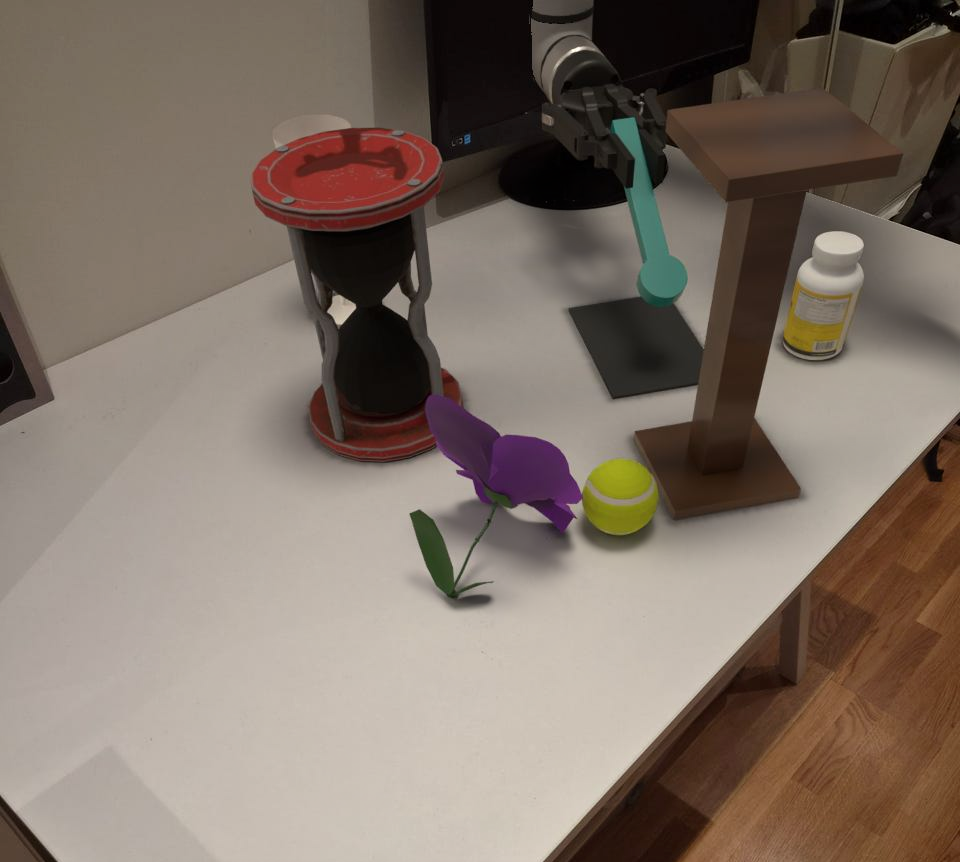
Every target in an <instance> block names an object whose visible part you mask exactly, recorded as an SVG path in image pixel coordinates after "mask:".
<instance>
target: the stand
mask: <svg viewBox="0 0 960 862" xmlns="http://www.w3.org/2000/svg"><path fill="white" fill-rule="evenodd" d="M666 119H667V121H666V133H667V136H668V137H669V138H670V140H672V141H673V142H674V143H675V145H676V146H677V147H678V149H680V150H681V152H682V153H683V155H684V156H685V157H686V158H687V159H688V160H689V162H690V163H691V164H692V165H693V166H694V167H695V168H696V169H697V171H698V172H699V173H700V174H701V175H702V177H703V178H704V179H705V180H706V181H707V183H708V184H709V185H710V186H711V187H712V189H713V190H714V191H715V192H716V194H717V195H719V197H720V198H721V199H722V200H723V201H724V203H727V205H726V206H727V207H726V212H725V219H724V224H723V230H722V236H721V244H720V249H719V254H718V259H717V260H718V261H717V266H716V272H715V279H714V284H713V291H712V297H711V304H710V309H709V316H708V321H707V327H706V334H705V340H704V345H703V349H704V351H703V358H702V364H701V370H700V376H699V382H698V385H697V387H696V394H695V400H694V406H693V413H692V419H691V420H690V421H686V422H679V423H673V424H667V425H663V426H656V427H650V428H645V429H639V430H634V434H633V442H634V444H635V446H636V448H637V450H638V452H639V454H640V456H641V458H642V460H643V462H644V464H645V467H646V468H647V469H648V471H649V472H650V473H651V474H652V476H653V477H654V479H655V481H656V484H657V487H658V493H659V494H660V496H661V498H662V500H663V502H664V504H665V507H666V508H667V510H668V512H669V514H670V516H671V518H672V520H673V521H678V520H679V521H680V520H685V519H690V518H695V517H701V516H702V517H703V516H706V515H712V514H718V513H723V512H728V511H734V510H739V509H745V508H750V507H755V506H762V505H767V504H772V503H777V502H782V501H783V502H784V501H788V500H793V499H799V497H800V494H801V491H802V487H801V486H800V484H799V483H798V481H797V480H796V478H795V476H794V475H793V474H792V473H791V470H790V469H789V468H788V467H787V465H786V463H785V462H784V459H782V457H781V456H780V454H779V453H778V450H777V449H776V448H775V446H774V445H773V443H772V442H771V441H770V439H769V437H768V436H767V434H766V433H765V431H764V430H763V429H762V427H761V426H760V424H759V422H758V421H757V419H756V418H755V416H756V411H757V408H758V403H759V400H760V394H761V389H762V386H763V381H764V377H765V373H766V368H767V366H768V365H767V364H768V360H769V355H770V351H771V346H772V342H773V338H774V334H775V329H776V325H777V321H778V317H779V314H780V313H779V312H780V307H781V304H782V300H783V295H784V290H785V287H786V282H787V277H788V273H789V269H790V264H791V260H792V255H793V252H794V247H795V242H796V238H797V234H798V230H799V226H800V221H801V217H802V213H803V208H804V204H805V199H806V195H807V192H808V191H809V190H816V189H823V188H828V187H829V188H830V187H836V186H843V185H849V184H854V183H861V182H869V181H876V180H882V179H888V178H896V177H897V176H898V172H899V170H900V165H901V163H902V159H903V157H904V152H903V151H901V150H900V149H899V147H896V145H894V144H893V143H892V142H890V141H889V140H888V139H887V138H886V137H884V136H883V135H882V134H880V133H879V132H878V131H877V130H875V129H874V128H873V126H871V125H870V124H868V123H867V122H865V121H864V120H863V119H862V118H861V117H860V116H859V115H857V114H856V113H855V112H854V111H852V110H851V109H850V108H848V107H847V106H846V105H845V104H843V103H842V102H841V101H839V99H837V98H836V97H834V96H833V95H832V94H831V93H830V92H828V91H827V90H826V89H825V88H824V87H818V88H812V89H805V90H798V91H791V92H784V93H783V92H782V93H777V94H770V95H762V96H756V97H749V98H748V97H747V98H742V99H741V98H740V99H734V100H727V101H721V102H715V103H707V104H701V105H700V104H699V105H693V106H685V107H679V108H672V109H667V111H666Z"/></svg>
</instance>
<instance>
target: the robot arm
mask: <svg viewBox="0 0 960 862" xmlns="http://www.w3.org/2000/svg"><path fill="white" fill-rule="evenodd" d="M954 1H955V2H956V4H957V5H958V7H959V8H960V0H954ZM594 3H595V2H594V0H533V7H532V8H533V9H532V15H531V16H532V18H533V19H532V18H531V32H532V33H531V35H532V70H533V75H534V77H535V80H536V82H537V83H536V82H535V83H536V84H537V85H538V86H539V88H540V89H541V91H542V92H543V93H544V95H545V96H546V98H547V100H548V101H547V102H543V103H542V104H541V130H542V131H544V132H546V133H549V134H551V135H553V136H554V137H555V139H557V140H558V142H560V143H561V144H562V145H563V147H565V148H566V150H567V151H568V152H569V153H570V154H571V155H572V156H573V157H574V158H575V159H576V160H577V161H581V162H583V161H586V160H588V158H589V156H593V158H594V162H593V163H594V164H593V167H594V168H596V169H603V168H604V169H607V170H609V169H611V170H612V171H613V172H614V174H615V176H616V177H617V179H618V180H619V181H620V183H621V184H622V185H623V188H624V187H625V188H633V181H634V168H635V158H634V157H633V155H632V154H631V153H630V151H629V150H628V149H627V147H626V146H625V145H624V143H623V142H622V141H621V139H620V138H619V137H618V135H617V134H616V133H612V134H611V133H608V131H607V130H609V131H610V128H611V124H612V121H613V120H618V119H625V118H632V117H635V120H636V124H637V128H638V133H639V137H640V140H641V144H642V148H643V152H644V156H645V160H646V164H647V168H648V172H649V176H650V180H651V181H652V182H653V183H654V184H655V185H659V184H664V183H663V182H664V173H665V165H666V157H667V156H666V153H665V152H664V151H663V150H665V149H666V147H667V146H666V145H667V139H668V134H667V133H666V121H667V116H666V115H665V114H664V111H663V110H662V108H661V105H660V104H659V102H658V100H657V93H658V92H657V91H658V90H657V89H656V88H653V87H652V88H648V89H646V90H645V92H641V93H639V95H634V93H633V91H632V90H631V89H629V88H626V87H624V85H623V83H622V80H621V76H620V75H619V73H618V71H617V69H616V68H615V67H614V66H613V65H612V63H611V62H610V61H609V60H608V58H606V55H604V54H603V52H601V50H600V49H599V48H598V47H597V45H595V43H594V41H593V16H594V5H595V4H594ZM534 19H535V20H534ZM536 20H537V21H536ZM538 21H540V22H538ZM542 22H545V23H542ZM571 22H573V23H571ZM549 23H552V24H549ZM557 23H565V24H557ZM535 80H534V81H535Z"/></svg>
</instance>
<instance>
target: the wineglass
mask: <svg viewBox="0 0 960 862" xmlns="http://www.w3.org/2000/svg"><path fill="white" fill-rule="evenodd" d="M347 128H352V125H351V123H350V122H349V121H348V120H346V119H344V118H342V117H340V116H336V115H331V114H306V115H300V116H296V117H293V118H288V119H286V120H284V121H282V122H280V123H279V124H277V125H276V126H275V127H274V129H272V140H273V143H274V148H275V149H276V148H278V147H280V146H283V145H285V144H287V143H290V142H292V141H294V140H296V139H299V138H303V137H306V136H310V135H314V134H317V133H321V132H325V131H333V130H340V129H347ZM355 309H356V304H354V303H352V302H351V301H349V300H347V299H346V298H344V297H342V296H341V295H339V294H337V295H334V296H332V305H331V307H330V308H329V309H328V311H327V312H328V313H329V314H331V315H332V316H333V318H334V320H335V323H336V325H342V324H343V323H344V322H345V320H346V319H347V318H348V317H349V316H350V314H351V313H352V312H353V311H354V310H355Z"/></svg>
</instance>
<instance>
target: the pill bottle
mask: <svg viewBox="0 0 960 862" xmlns="http://www.w3.org/2000/svg"><path fill="white" fill-rule="evenodd" d="M864 247H865V243H864V240H862V238H861V237H860V236H858V235H856V234H853V233H851V232H848V231H841V230H839V231H837V230H836V231H827V232H823V233H821V234H819V235H817V236H816V238H815V240H814V243H813V247H812V251H811V256H812V257H810V258H808V259H806V260H805V261H804V262H803V263H802V264H801V265H800V267H799V268H798V272H797V274H796V278H795V283H794V287H793V292H792V295H791V300H790V304H789V309H788V312H787V317H786V321H785V325H784V330H783V334H782V344H783V346H784V348H785V350H786V351H787V352H788V353H790V354H791V355H793V356H794V357H797V358H800V359H803V360H807V361H824V360H829V359H830V358H833V357H835V356H837V355H838V354H839V353H841V352H842V349H844V346H845V344H846V340H847V336H848V334H849V330H850V328H851V324H852V321H853V317H854V314H855V311H856V307H857V304H858V301H859V297H860V294H861V290H862V287H863V283H864V280H865V274H864V273H865V272H864V270H863V268H862V266H861V265H860V263H858V262H860V260H861V257H862V256H863V255H862V254H863V251H864Z"/></svg>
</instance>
